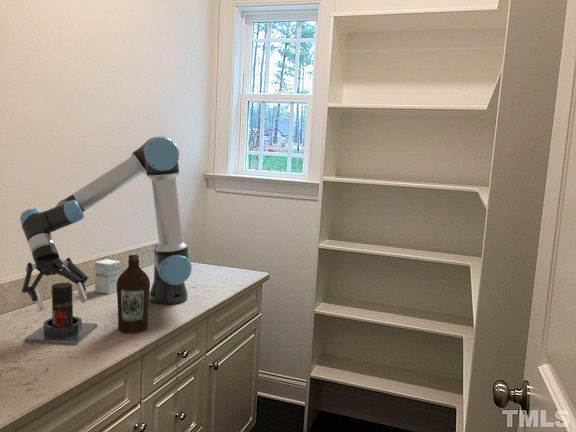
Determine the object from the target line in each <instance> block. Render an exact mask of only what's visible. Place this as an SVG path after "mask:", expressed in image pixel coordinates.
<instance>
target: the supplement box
mask: <svg viewBox="0 0 576 432" xmlns="http://www.w3.org/2000/svg"><path fill="white" fill-rule="evenodd" d="M121 265H122V263H121V261H118V260H112V259H107V258H106V259H103V260H98V261H95V263H94V266H95V267H94V270H95V271H94V292H95V293H100V294H101V293H102V294H107V295H111V294H113V293H114V294H115V293H117V281H118V278H119V276H120V275H121Z"/></svg>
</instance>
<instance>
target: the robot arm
mask: <svg viewBox="0 0 576 432" xmlns="http://www.w3.org/2000/svg"><path fill="white" fill-rule="evenodd" d="M179 159H180V150H179V148H178V146H177V144H176V142H175V141H173V140H172V139H171V138H169V137H167V136H153V137H151V138H148V140H146V141H145V142H144V143H143V144H142V145H140V147H138V148H136V150H134V151H133V152H131V154H130V157H128V158H126V159H125V160H124V161H122V162H121V163H119V164H117V165H116V166H114V167H113V168H111V169H110V170H108V171H106V172H105V173H103V174H101V175H100V176H98V177H97V178H96V179H94V180H91V182H89V183H88V184H86V185H85V186H83V187H82V188H79V190H77V191H75V192H74V193H72V194H71V195H69V196H67V197H66V198H64V199H61V200H60V201H58V202H57V204H56V206H54V207H51V208H49V209H48V210H45V211H42V210H41V209H40V208H28V209H26V210H25V211H23V212H22V213H21V215H20V216H19V219H20V220H19V221H20V224H21V228H22V231H23V233H24V235H25V238H26V241H27V244H28V247H29V250H30V252H31V256H32V258H33V262H34V263H32V262H28V263H27V265H26V266H25V271H26V275H25V278H24V281H23V286H22V288H21V289H22V290H21V293H23V294H25V293H27V294H28V295H30V298H31V301H32V302H35V304H36V306H37V307H36V308H37V310H38V312H42V311H43V309H44V307H45V305H44V303H43V300H42V296H41V294H40V291H39V289H38V288H37V286H38V285H39V283H40V281H41V280H42V278H43V276H46V277H49V276H56V275H59V276H62V277H64V278H66V279H68V280H69V281H71V282H72V283H74V284H75V285H76V286H75V288H76V291H77V293H78V295H79V298H80V301H81V303H82V304H85V303H86V301H87V299H88V297H87V293H86V291H87V287H86V285H85V283H87V281H88V278H89V277H88V276H87V275H86V274H85V273H84V272H83V271H82V270H81V269H80V268H78V267H77V265H75V263H73V262H72V260H71V258H70V257H66V259H64V260H62V259H61V258H60V255H59V252H58V250H57V247H56V244H55V241H54V239H53V237H52V233H54V232H56V231H57V230H60V229H63V228H66V227H68V226H70V225H73V224H77V223H78V222H79V221H81V220H83V219H84V218H85V214H84V212H85V211H87V210H89V209H90V208H91V207H93V206H94V205H96V204H98V203H100V202H101V201H102V200H104V199H106V198H107V197H109V196H110V195H112V194H113V193H115V192H116V191H118V190H119V189H121V188H122V187H125V185H127V184H129V183H130V182H132V181H133V180H135V179H137V178H138V177H140V176H141V175H143V174H144V175H146V177H147V178H148V179H150V181H151V187H152V193H153V203H154V211H155V218H156V219H155V220H156V229H157V236H158V243H157V242H156V243H155V245H154V249H153V252H154V254H153V255H154V256H153V257H154V259H153V261H154V262H153V282H152V284H151V286H150V293H149V302H152V303H155V304H161V305H172V304H173V305H174V304H180V303H183V302H186V301H187V300H188V295H189V294H188V293H189V292H188V290H187V289H188V288H187V287H186V284H185V282H186V281H187V280H188V279H189V278H190V276H191V274H192V267H193V266H192V263H191V261H190V256H189V248H188V244H187V243H185V242H184V240H183V232H182V231H183V230H182V225H181V224H182V223H181V221H182V220H181V213H180V203H179V197H178V196H179V195H178V187H177V179H176V178H177V177H178V176H179V174H180V166H179ZM34 270H37V271H38V272H39V273H38V274H37V276H36V277H35V280H34V281H33V283H32V284H31V286H29V285H30V281H31V278H32V275H33V274H32V273H33V272H34Z"/></svg>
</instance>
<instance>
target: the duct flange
mask: <svg viewBox="0 0 576 432" xmlns="http://www.w3.org/2000/svg"><path fill="white" fill-rule="evenodd" d="M97 328H98V323H91V322H82V319H81V318H80V317H77V316H74V315H73V325H70V326H63V327H53V321H52V318H48V319H46V320H45V321H44V322H43V325H42V326H41V327H40V328H38V329H37V330H35V331H33V332H32V333H31V334H30V335H28V336H26V337H25V338H24V342H25V343H38V344H39V343H41V344H42V343H43V344H54V345H55V344H58V345H72V346H73V345H76V346H77V345H78V344H79V343H80V342H82V341H83V340H84V339H86V337H88V335H89V334H91V333H92V332H93V331H94V330H95V329H97Z"/></svg>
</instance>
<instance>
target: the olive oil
mask: <svg viewBox="0 0 576 432" xmlns="http://www.w3.org/2000/svg"><path fill="white" fill-rule="evenodd" d="M139 258H140V256H139V255H138V254H130V255H128V263H127V264H128V267H127V268H126V269H125V270H124V271H123V272H122V273H120V276H119V278H118V281H117V292H116V298H117V299H116V300H117V325H118V328H117V329H118V331H119V332H121V333H126V334H137V333H142V332H145V331H146V330H147V329H148V326H149V324H148V323H149V307H150V305H149V304H150V300H149V293H150V290H151V281H150V278H149V276H148V275H147V273H146V272H145V271H144V270H143V269H142V268H141V267H140V259H139Z"/></svg>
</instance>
